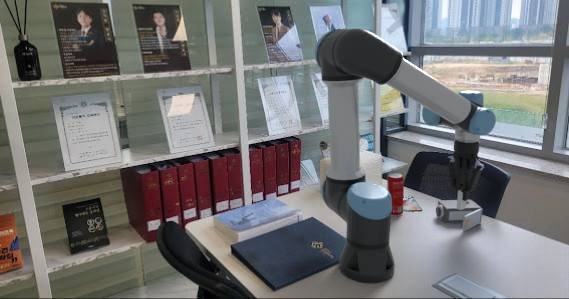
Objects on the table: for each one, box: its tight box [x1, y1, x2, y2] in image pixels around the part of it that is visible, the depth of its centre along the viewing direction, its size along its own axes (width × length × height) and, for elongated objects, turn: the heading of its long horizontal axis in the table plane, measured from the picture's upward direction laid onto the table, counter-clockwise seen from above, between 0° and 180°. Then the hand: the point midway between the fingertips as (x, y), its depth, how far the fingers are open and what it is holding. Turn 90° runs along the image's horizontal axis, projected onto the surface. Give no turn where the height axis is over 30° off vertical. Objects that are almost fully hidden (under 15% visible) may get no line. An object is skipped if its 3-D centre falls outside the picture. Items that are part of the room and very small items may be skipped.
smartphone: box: [403, 195, 423, 212], centre depth 165 cm, size 8×1×15 cm
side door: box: [461, 207, 483, 232], centre depth 144 cm, size 11×1×5 cm, turn 128°
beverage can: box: [386, 172, 405, 217], centre depth 154 cm, size 6×6×15 cm
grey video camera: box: [435, 199, 482, 224], centre depth 151 cm, size 14×8×6 cm, turn 93°
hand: (461, 208), depth 143 cm, fingers closed
